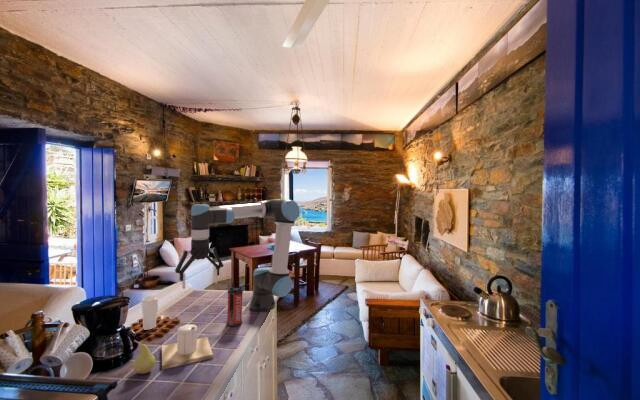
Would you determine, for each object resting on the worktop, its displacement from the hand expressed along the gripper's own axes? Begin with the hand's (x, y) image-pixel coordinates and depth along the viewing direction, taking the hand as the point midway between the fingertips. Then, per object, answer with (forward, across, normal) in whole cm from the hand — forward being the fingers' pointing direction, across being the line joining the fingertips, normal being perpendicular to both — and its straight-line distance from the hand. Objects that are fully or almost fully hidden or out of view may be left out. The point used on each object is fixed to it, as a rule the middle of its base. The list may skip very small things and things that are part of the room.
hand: (200, 285), depth 131 cm
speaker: (+26, -19, -8) cm, 33 cm away
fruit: (+24, +23, +15) cm, 37 cm away
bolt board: (+25, +7, +10) cm, 27 cm away
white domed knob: (+23, +7, +10) cm, 26 cm away
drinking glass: (+25, +18, -23) cm, 38 cm away
